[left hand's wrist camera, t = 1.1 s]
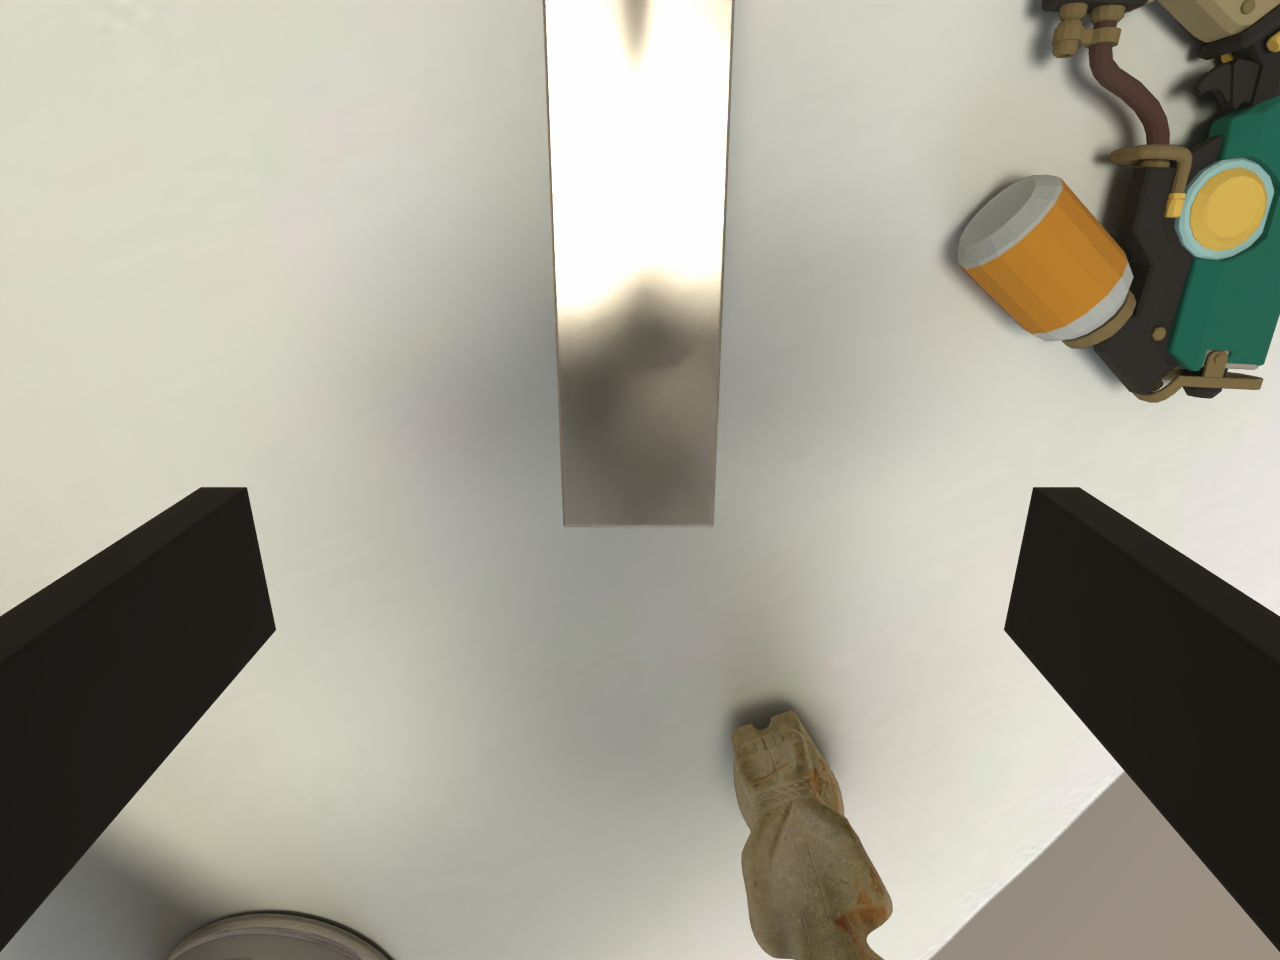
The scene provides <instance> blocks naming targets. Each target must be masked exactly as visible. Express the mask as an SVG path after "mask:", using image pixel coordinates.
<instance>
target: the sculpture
mask: <svg viewBox="0 0 1280 960" xmlns="http://www.w3.org/2000/svg"><path fill="white" fill-rule="evenodd" d="M732 741H733V746H734V752H735V755H734V784H735V790H736V796H737V800H738V804H739V808H740V810H741V813H742V816H743V818H744V820H745V822H746V824H747V825H748V827H749V828H750V830H751V833H750V835H749V837H748V839H747V842H746V844H745V846H744V849H743V851H742V871H743V877H744V882H745V888H746V893H747V901H748V909H749V918H750V923H751V928H752V931H753V934H754V936H755V938H756V940H757V942H758V944H759V945H760V947H761V948H762V949H763V950H764V951H765V952H766V953H767V954H769V955H770V956H772V957H774V958H781V959H795V960H884V959H883V958H881V957H880V956H879V955H877V954H876V953H875V952H874V951H873V950H872V949H871V948H870V947H869V945H868V944H867V941H866V939H867V936H868V934H869V933H870V932H872V931H873V930H875V929H876V928H878V927H879V926H881V925H882V924H883V923H884V922H886V921H887V920H888V918H889V917H890V916H891V914H892V911H893V908H892V901H891V898H890V896H889V894H888V892H887V890H886V888H885V886H884V884H883V882H882V880H881V878H880V876H879V874H878V873H877V871H876V869H875V867H874V865H873V864H872V862H871V860H870V859H869V857H868V855H867V853H866V851H865V849H864V848H863V846H862V844H861V841H860V839H859V837H858V836H857V834H856V833H855V831H854V830H853V828H852V827H851V825H850V824H849V822H848V820H847V819H846V817H844V805H843V800H842V795H841V791H840V788H839V785H838V782H837V780H836V778H835V776H834V774H833V772H832V771H831V769H830V767H829V765H828V764H827V762H826V761H825V759H824V758H823V756H822V755H821V753H820V752H819V750H818V749H817V747H816V746H815V744H814V743H813V741H812V740H811V738H810V736H809V734H808V733H807V731H806V729H805V728H804V726H803V725H802V723H801V721H800V719H799V718H798V716H797V715H796V714H795V713H794V712H793V711H788V712H785V713H781V714H777V715H774V716H773V717H771V720H770V724H769V725H768V727H767V728H765V729H763V730H758V729H757V728H756V726H755V725H753V724H748V725H744V726H742V727H740V728H738V729H736V730H734V731H733V732H732Z"/></svg>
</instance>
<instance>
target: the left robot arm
mask: <svg viewBox="0 0 1280 960" xmlns="http://www.w3.org/2000/svg"><path fill="white" fill-rule="evenodd" d="M275 630H276V628H275V623H274V618H273V613H272V608H271V603H270V598H269V593H268V589H267V584H266V579H265V574H264V569H263V564H262V559H261V554H260V550H259V545H258V540H257V535H256V530H255V525H254V520H253V515H252V511H251V506H250V501H249V496H248V491H247V487H201V488H199V489H198V490H196V491H195V492H193V493H191V494H190V495H188V496H187V497H185V498H184V499H182V500H181V501H179V502H177V503H176V504H174V505H173V506H171V507H170V508H168V509H167V510H165V511H163V512H162V513H160V514H159V515H157V516H156V517H154V518H153V519H151V520H149V521H148V522H146V523H145V524H143V525H142V526H140V527H139V528H137V529H135V530H134V531H132V532H131V533H129V534H128V535H126V536H125V537H123V538H121V539H120V540H118V541H117V542H115V543H114V544H112V545H111V546H109V547H107V548H106V549H104V550H103V551H101V552H100V553H98V554H97V555H95V556H93V557H92V558H90V559H89V560H87V561H86V562H84V563H83V564H81V565H80V566H78V567H76V568H75V569H73V570H72V571H70V572H69V573H67V574H66V575H64V576H62V577H61V578H59V579H58V580H56V581H55V582H53V583H52V584H50V585H48V586H47V587H45V588H44V589H42V590H41V591H39V592H38V593H36V594H34V595H33V596H31V597H30V598H28V599H27V600H25V601H24V602H22V603H20V604H19V605H17V606H16V607H14V608H13V609H11V610H10V611H8V612H6V613H5V614H3V615H2V616H0V952H1V950H2V949H3V948H4V947H5V946H6V945H7V943H8V942H9V941H10V940H11V939H12V938H13V936H14V935H15V934H16V933H17V932H18V931H19V929H20V928H21V927H22V926H23V925H24V924H25V922H26V921H27V920H28V919H29V918H30V917H31V915H32V914H33V913H34V912H35V911H36V910H37V908H38V907H39V906H40V905H41V904H42V903H43V901H44V900H45V899H46V898H47V897H48V896H49V894H50V893H51V892H52V891H53V890H54V889H55V887H56V886H57V885H58V884H59V883H60V882H61V880H62V879H63V878H64V877H65V876H66V875H67V873H68V872H69V871H70V870H71V869H72V868H73V866H74V865H75V864H76V863H77V862H78V861H79V859H80V858H81V857H82V856H83V855H84V853H85V852H86V851H87V850H88V849H89V848H90V846H91V845H92V844H93V843H94V842H95V841H96V839H97V838H98V837H99V836H100V835H101V834H102V832H103V831H104V830H105V829H106V828H107V827H108V825H109V824H110V823H111V822H112V821H113V820H114V818H115V817H116V816H117V815H118V814H119V813H120V811H121V810H122V809H123V808H124V807H125V806H126V804H127V803H128V802H129V801H130V800H131V799H132V797H133V796H134V795H135V794H136V793H137V792H138V790H139V789H140V788H141V787H142V786H143V785H144V783H145V782H146V781H147V780H148V779H149V778H150V776H151V775H152V774H153V773H154V772H155V771H156V769H157V768H158V767H159V766H160V765H161V764H162V762H163V761H164V760H165V759H166V758H167V757H168V755H169V754H170V753H171V752H172V751H173V750H174V748H175V747H176V746H177V745H178V744H179V743H180V741H181V740H182V739H183V738H184V737H185V736H186V734H187V733H188V732H189V731H190V730H191V729H192V727H193V726H194V725H195V724H196V723H197V722H198V720H199V719H200V718H201V717H202V716H203V715H204V713H205V712H206V711H207V710H208V709H209V708H210V706H211V705H212V704H213V703H214V702H215V701H216V699H217V698H218V697H219V696H220V695H221V694H222V692H223V691H224V690H225V689H226V688H227V687H228V685H229V684H230V683H231V682H232V681H233V680H234V678H235V677H236V676H237V675H238V674H239V672H240V671H241V670H242V669H243V668H244V667H245V665H246V664H247V663H248V662H249V661H250V660H251V658H252V657H253V656H254V655H255V654H256V653H257V651H258V650H259V649H260V648H261V647H262V646H263V644H264V643H265V642H266V641H267V640H268V639H269V637H270V636H271V635H272V634H273V633H274V632H275ZM1004 630H1005V632H1006V633H1007V634H1008V635H1009V636H1010V637H1011V639H1012V640H1013V641H1014V642H1015V643H1016V644H1017V646H1018V647H1019V648H1020V649H1021V650H1022V651H1023V653H1024V654H1025V655H1026V656H1027V657H1028V658H1029V660H1030V661H1031V662H1032V663H1033V664H1034V665H1035V667H1036V668H1037V669H1038V670H1039V671H1040V672H1041V674H1042V675H1043V676H1044V677H1045V678H1046V680H1047V681H1048V682H1049V683H1050V684H1051V685H1052V687H1053V688H1054V689H1055V690H1056V691H1057V692H1058V694H1059V695H1060V696H1061V697H1062V698H1063V699H1064V701H1065V702H1066V703H1067V704H1068V705H1069V706H1070V708H1071V709H1072V710H1073V711H1074V712H1075V713H1076V715H1077V716H1078V717H1079V718H1080V719H1081V720H1082V722H1083V723H1084V724H1085V725H1086V726H1087V727H1088V729H1089V730H1090V731H1091V732H1092V733H1093V734H1094V736H1095V737H1096V738H1097V739H1098V740H1099V741H1100V743H1101V744H1102V745H1103V746H1104V747H1105V748H1106V750H1107V751H1108V752H1109V753H1110V754H1111V755H1112V757H1113V758H1114V759H1115V760H1116V761H1117V762H1118V764H1119V765H1120V766H1121V767H1122V768H1123V769H1124V771H1125V772H1126V773H1127V774H1128V775H1129V776H1130V778H1131V779H1132V780H1133V781H1134V782H1135V783H1136V785H1137V786H1138V787H1139V788H1140V789H1141V790H1142V792H1143V793H1144V794H1145V795H1146V796H1147V797H1148V799H1149V800H1150V801H1151V802H1152V803H1153V804H1154V806H1155V807H1156V808H1157V809H1158V810H1159V811H1160V813H1161V814H1162V815H1163V816H1164V817H1165V818H1166V820H1167V821H1168V822H1169V823H1170V824H1171V825H1172V827H1173V828H1174V829H1175V830H1176V831H1177V832H1178V834H1179V835H1180V836H1181V837H1182V838H1183V839H1184V841H1185V842H1186V843H1187V844H1188V845H1189V846H1190V848H1191V849H1192V850H1193V851H1194V852H1195V853H1196V855H1197V856H1198V857H1199V858H1200V859H1201V860H1202V862H1203V863H1204V864H1205V865H1206V866H1207V868H1208V869H1209V870H1210V871H1211V872H1212V873H1213V875H1214V876H1215V877H1216V878H1217V879H1218V880H1219V881H1220V883H1221V884H1222V885H1223V886H1224V887H1225V889H1226V890H1227V891H1228V892H1229V893H1230V894H1231V896H1232V897H1233V898H1234V899H1235V900H1236V901H1237V903H1238V904H1239V905H1240V906H1241V907H1242V908H1243V910H1244V911H1245V912H1246V913H1247V914H1248V915H1249V917H1250V918H1251V919H1252V920H1253V921H1254V922H1255V924H1256V925H1257V926H1258V927H1259V928H1260V929H1261V931H1262V932H1263V933H1264V934H1265V935H1266V936H1267V938H1268V939H1269V940H1270V941H1271V942H1272V943H1273V945H1274V946H1275V947H1276V948H1277V949H1278V950H1279V952H1280V616H1278V615H1277V614H1275V613H1274V612H1272V611H1270V610H1269V609H1267V608H1266V607H1264V606H1263V605H1261V604H1260V603H1258V602H1256V601H1255V600H1253V599H1252V598H1250V597H1249V596H1247V595H1246V594H1244V593H1242V592H1241V591H1239V590H1238V589H1236V588H1235V587H1233V586H1232V585H1230V584H1228V583H1227V582H1225V581H1224V580H1222V579H1221V578H1219V577H1218V576H1216V575H1214V574H1213V573H1211V572H1210V571H1208V570H1207V569H1205V568H1204V567H1202V566H1200V565H1199V564H1197V563H1196V562H1194V561H1193V560H1191V559H1190V558H1188V557H1187V556H1185V555H1183V554H1182V553H1180V552H1179V551H1177V550H1176V549H1174V548H1173V547H1171V546H1169V545H1168V544H1166V543H1165V542H1163V541H1162V540H1160V539H1159V538H1157V537H1155V536H1154V535H1152V534H1151V533H1149V532H1148V531H1146V530H1145V529H1143V528H1141V527H1140V526H1138V525H1137V524H1135V523H1134V522H1132V521H1131V520H1129V519H1127V518H1126V517H1124V516H1123V515H1121V514H1120V513H1118V512H1117V511H1115V510H1113V509H1112V508H1110V507H1109V506H1107V505H1106V504H1104V503H1103V502H1101V501H1099V500H1098V499H1096V498H1095V497H1093V496H1092V495H1090V494H1089V493H1087V492H1085V491H1084V490H1082V489H1081V488H1079V487H1033V491H1032V496H1031V501H1030V506H1029V511H1028V515H1027V520H1026V525H1025V530H1024V535H1023V540H1022V545H1021V550H1020V554H1019V559H1018V564H1017V569H1016V574H1015V579H1014V584H1013V589H1012V593H1011V598H1010V603H1009V608H1008V613H1007V618H1006V623H1005V628H1004ZM168 960H388V959H387V958H386V957H385V956H384V955H383V954H382V953H381V952H380V951H378V950H377V949H376V948H374V947H373V946H372V945H370V944H369V943H367V942H366V941H364V940H363V939H361V938H359V937H358V936H356V935H354V934H352V933H350V932H348V931H346V930H343V929H341V928H339V927H336V926H334V925H331V924H328V923H325V922H322V921H318V920H314V919H310V918H306V917H300V916H294V915H286V914H249V915H241V916H235V917H231V918H227V919H223V920H220V921H217V922H214V923H211V924H209V925H207V926H204V927H202V928H200V929H199V930H197V931H195V932H193V933H192V934H191V935H189V936H188V937H187V938H185V939H184V940H183V941H182V942H181V943H180V944H179V945H178V946H177V947H176V948H175V949H174V951H173V952H172V953H171V955H170V957H169V958H168Z"/></svg>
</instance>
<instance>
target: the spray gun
mask: <svg viewBox="0 0 1280 960" xmlns="http://www.w3.org/2000/svg"><path fill="white" fill-rule="evenodd" d="M1153 1H1155V0H1043V3H1042V10H1043V11H1055V12H1059V15H1058V17H1059V18H1060V19H1061V20H1062V22H1061V23H1059V24H1058V28H1056V29H1055V30H1054V36H1053V41H1052V45H1054V48H1053V54H1054V56H1055V57H1056V58H1067V57H1070V56H1073V55H1074V54H1075V53H1076V52H1077V48H1078V45H1086V46H1085V48H1088V49H1089V63H1090V68H1091V71H1092V73H1093V76H1094V77H1095V78H1096V80H1097V81H1098V82H1099V83H1100V85H1102V86H1103V87H1105V88H1106V89H1108V90H1109V91H1110V92H1112V93H1113V94H1115V95H1116V96H1118V97H1119V98H1121V99H1122V100H1123V101H1124V102H1125V103H1126V104H1127V105H1128V106H1129V107H1130V108H1131V109H1133V110H1134V111H1135V113H1136V114H1137V116H1138V117H1139V119H1140V120H1141V122H1142V124H1143V126H1144V129H1145V132H1146V140H1147V145H1141V146H1134V147H1128V148H1123V149H1119V150H1115V151H1113V152H1112V153H1111V154H1110V156H1109V160H1110V162H1111V163H1114V164H1118V165H1138V166H1140V168H1135V169H1134V172H1133V176H1132V180H1131V184H1130V188H1129V193H1128V197H1127V201H1126V205H1125V210H1124V214H1123V218H1122V222H1121V226H1120V234H1121V236H1122V238H1123V241H1124V243H1125V246H1126V248H1127V250H1128V253H1129V255H1130V258H1131V260H1132V263H1133V269H1132V271H1131V268H1130V265H1129V263H1128V260H1127V257H1126V255H1125V252H1124V251H1123V250H1122V249H1121V247H1120V246H1119V245H1118V244H1117V243H1116V242H1115V241H1114V239H1113V238H1112V237H1111V236H1110V235H1109V234H1108V232H1107V231H1106V230H1105V229H1104V228H1103V227H1102V225H1101V224H1100V223H1099V222H1098V221H1097V220H1096V218H1095V217H1094V216H1093V215H1092V214H1091V213H1090V211H1089V210H1088V209H1087V208H1086V207H1085V206H1084V205H1083V203H1082V202H1081V201H1080V200H1079V199H1078V198H1077V196H1076V195H1075V194H1074V193H1073V192H1072V191H1071V189H1070V188H1069V187H1068V186H1067V185H1066V184H1065V182H1064V181H1063V180H1062V179H1061V178H1059V177H1055V176H1050V175H1036V176H1029V177H1026V178H1023V179H1021V180H1018V181H1017V182H1015V183H1013V184H1012V185H1010V186H1008V187H1007V188H1005V189H1004V190H1002V191H1001V192H1000V193H999V194H997V195H996V196H995V197H994V198H992V199H991V200H990V201H989V202H988V203H987V204H986V205H985V206H984V207H983V208H981V209H980V210H979V211H978V212H977V213H976V214H975V216H974V217H973V218H972V220H971V221H970V222H969V223H968V225H967V226H966V227H965V229H964V231H963V233H962V235H961V237H960V241H959V247H958V264H959V266H960V267H961V268H962V269H963V270H964V271H965V272H966V273H967V274H968V275H969V276H970V277H971V278H972V279H973V280H974V281H975V282H977V283H978V284H979V285H980V286H981V287H982V288H983V289H984V290H985V291H986V292H987V293H988V294H989V295H990V296H991V297H992V298H993V299H994V300H995V301H996V302H997V303H998V304H999V305H1000V306H1001V307H1002V308H1003V309H1004V310H1005V311H1006V312H1007V313H1008V314H1009V315H1010V316H1011V317H1012V318H1013V319H1014V320H1015V321H1016V322H1017V323H1018V324H1019V325H1020V326H1021V327H1022V328H1023V329H1025V330H1026V331H1028V332H1029V333H1031V334H1033V335H1035V336H1037V337H1039V338H1041V339H1042V340H1044V341H1059V340H1061V341H1062V342H1063V343H1064V344H1065V345H1067V346H1069V347H1070V348H1086V347H1089V346H1093V348H1094V350H1095V352H1096V353H1097V354H1098V355H1099V356H1100V358H1101V359H1102V360H1103V361H1104V362H1105V363H1106V365H1107V366H1108V367H1109V368H1110V369H1111V370H1112V372H1113V373H1114V374H1115V375H1116V376H1117V377H1118V379H1119V380H1120V381H1121V382H1122V383H1123V385H1124V386H1125V387H1126V388H1127V389H1128V390H1129V391H1130V392H1132V393H1133V394H1134V395H1135V396H1136V397H1137V398H1138V399H1140V400H1143V401H1147V402H1160V401H1163V400H1165V399H1167V398H1169V397H1170V396H1172V395H1173V394H1175V393H1176V392H1177V391H1178V390H1179V389H1180V388H1181V387H1182V386H1183V388H1184V390H1185V392H1186V394H1187V395H1189V396H1193V397H1200V398H1213V397H1214V396H1216V395H1217V394H1218V393H1220V392H1221V391H1222V388H1228V389H1248V390H1260V388H1261V385H1262V382H1263V378H1260V377H1255V376H1250V375H1245V374H1239V373H1231V372H1227V371H1228V368H1230V369H1249V370H1254V369H1257V368H1258V366H1260V365H1263V364H1264V362H1265V359H1266V356H1267V353H1268V349H1269V346H1270V343H1271V340H1272V337H1273V334H1274V330H1275V327H1276V324H1277V321H1278V318H1279V315H1280V0H1157V1H1158V2H1159V3H1160V4H1161V5H1162V6H1163V7H1164V8H1165V9H1166V10H1167V11H1168V12H1169V13H1170V14H1171V15H1172V16H1173V17H1174V18H1175V19H1176V20H1177V21H1178V22H1179V23H1180V24H1181V25H1182V26H1183V27H1184V28H1186V29H1187V30H1188V31H1189V32H1190V33H1191V34H1192V35H1193V36H1194V37H1195V38H1197V39H1199V40H1201V41H1203V42H1206V43H1205V44H1204V45H1202V48H1201V51H1200V53H1199V58H1202V59H1205V60H1209V59H1212V58H1215V57H1218V56H1221V61H1222V62H1223V64H1221V65H1219V66H1216V67H1215V68H1213V69H1212V70H1210V71H1209V72H1208V73H1206V74H1205V75H1204V76H1203V77H1202V78H1201V79H1200V80H1199V81H1198V82H1197V83H1196V84H1195V86H1194V87H1193V88H1192V91H1193V92H1194V93H1195V95H1198V94H1203V93H1204V92H1206V91H1212V92H1213V93H1214V94H1215V96H1216V97H1217V99H1218V101H1219V103H1220V105H1221V108H1222V111H1227V110H1232V109H1233V111H1231V112H1229V113H1228V114H1226V115H1224V116H1222V117H1221V118H1219V119H1217V120H1216V121H1214V122H1213V124H1212V125H1211V128H1210V131H1209V134H1208V138H1207V140H1205V141H1203V142H1202V143H1200V144H1198V145H1196V146H1195V147H1193V148H1191V149H1190V150H1189V149H1187V148H1185V147H1183V146H1178V145H1169V138H1170V132H1169V127H1168V121H1167V117H1166V115H1165V113H1164V111H1163V109H1162V107H1161V105H1160V103H1159V101H1158V100H1157V99H1156V98H1155V97H1154V96H1153V95H1152V94H1151V93H1150V92H1149V91H1148V90H1147V88H1146V87H1145V86H1144V85H1143V84H1142V83H1141V82H1140V81H1138V80H1137V79H1135V78H1134V77H1132V76H1131V75H1129V74H1128V73H1126V72H1125V71H1123V70H1122V69H1120V68H1119V67H1118V65H1117V64H1116V63H1115V61H1114V60H1113V54H1112V47H1114V46H1117V45H1118V42H1119V37H1120V33H1121V29H1120V28H1116V25H1117V22H1119V21H1120V20H1121V19H1122V18H1123V17H1124V13H1126V12H1130V11H1133V10H1135V9H1137V8H1139V7H1142V6H1144V5H1146V4H1149V3H1151V2H1153ZM1086 14H1090V19H1089V20H1090V21H1091V22H1092V24H1093V25H1094V27H1093V29H1084V26H1082V24H1083V22H1082V21H1081V20H1080V19H1081V18H1082V17H1083V16H1085V15H1086ZM1167 159H1169V160H1171V161H1168V160H1167ZM1162 380H1172V381H1171V382H1170V383H1169V384H1168V385H1166V386H1165V387H1164V388H1162V389H1161V390H1159V389H1160V388H1161V387H1162V386H1163V384H1164V383H1163V381H1162ZM1156 390H1158V391H1156ZM1154 391H1155V392H1154Z"/></svg>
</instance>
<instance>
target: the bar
mask: <svg viewBox="0 0 1280 960" xmlns="http://www.w3.org/2000/svg"><path fill="white" fill-rule="evenodd" d="M734 5H735V0H543V18H544V44H545V70H546V95H547V121H548V146H549V172H550V198H551V223H552V249H553V275H554V300H555V326H556V352H557V377H558V403H559V428H560V454H561V480H562V505H563V525H564V527H713V525H714V504H715V479H716V454H717V429H718V404H719V379H720V354H721V330H722V305H723V280H724V255H725V230H726V205H727V180H728V155H729V130H730V105H731V80H732V55H733V30H734Z"/></svg>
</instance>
